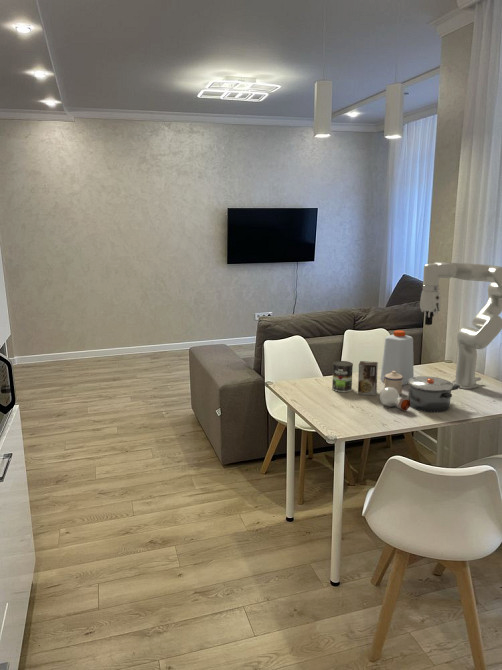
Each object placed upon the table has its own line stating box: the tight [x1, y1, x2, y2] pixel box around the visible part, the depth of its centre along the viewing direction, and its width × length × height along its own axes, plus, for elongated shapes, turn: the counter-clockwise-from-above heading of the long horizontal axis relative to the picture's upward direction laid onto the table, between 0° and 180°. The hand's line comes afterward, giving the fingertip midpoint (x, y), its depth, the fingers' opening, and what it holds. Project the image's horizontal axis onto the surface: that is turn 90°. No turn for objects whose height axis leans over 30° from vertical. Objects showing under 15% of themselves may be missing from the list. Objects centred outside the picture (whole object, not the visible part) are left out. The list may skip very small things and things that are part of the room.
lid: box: [408, 375, 453, 391], centre depth 250 cm, size 20×20×3 cm
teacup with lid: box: [383, 371, 403, 396], centre depth 270 cm, size 12×9×12 cm
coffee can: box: [331, 360, 354, 393], centre depth 275 cm, size 10×10×14 cm
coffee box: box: [357, 360, 379, 397], centre depth 269 cm, size 9×6×16 cm
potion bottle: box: [379, 387, 411, 412], centre depth 249 cm, size 9×10×15 cm
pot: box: [407, 376, 461, 413], centre depth 252 cm, size 21×25×10 cm
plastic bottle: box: [380, 329, 415, 386], centre depth 287 cm, size 15×15×28 cm
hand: (428, 324), depth 267 cm, fingers closed
